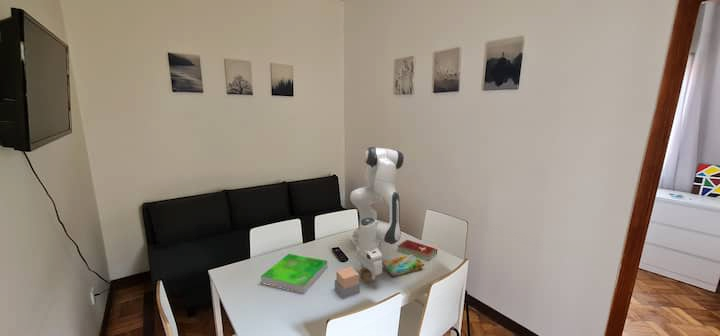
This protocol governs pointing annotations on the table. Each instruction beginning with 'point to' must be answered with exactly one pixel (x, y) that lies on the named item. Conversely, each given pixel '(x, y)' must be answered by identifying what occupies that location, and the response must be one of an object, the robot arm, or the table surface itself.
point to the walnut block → (365, 275)
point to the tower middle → (347, 277)
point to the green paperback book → (295, 273)
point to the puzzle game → (402, 265)
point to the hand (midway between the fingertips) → (368, 274)
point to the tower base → (347, 290)
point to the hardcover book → (417, 250)
